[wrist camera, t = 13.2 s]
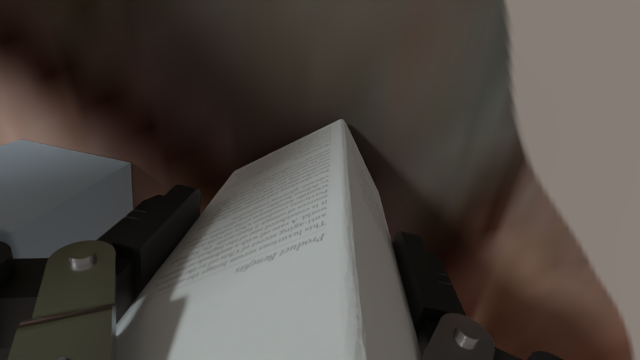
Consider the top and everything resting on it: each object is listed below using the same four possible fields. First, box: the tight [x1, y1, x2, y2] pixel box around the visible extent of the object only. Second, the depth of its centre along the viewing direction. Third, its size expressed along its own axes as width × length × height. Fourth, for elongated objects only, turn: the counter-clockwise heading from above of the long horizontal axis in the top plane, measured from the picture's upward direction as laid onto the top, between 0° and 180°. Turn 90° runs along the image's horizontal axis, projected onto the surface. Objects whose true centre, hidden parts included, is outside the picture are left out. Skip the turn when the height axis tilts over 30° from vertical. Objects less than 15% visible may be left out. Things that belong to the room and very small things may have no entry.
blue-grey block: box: [0, 140, 133, 259], centre depth 14 cm, size 6×6×7 cm
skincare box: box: [116, 119, 422, 360], centre depth 10 cm, size 6×4×12 cm
